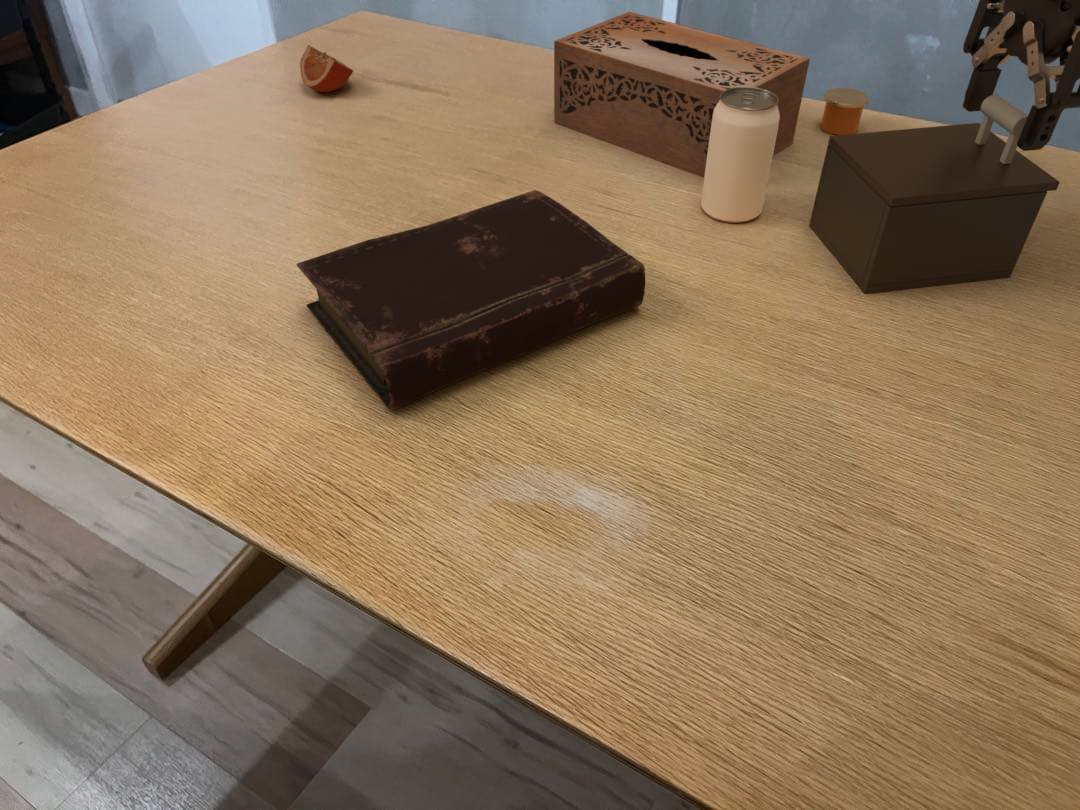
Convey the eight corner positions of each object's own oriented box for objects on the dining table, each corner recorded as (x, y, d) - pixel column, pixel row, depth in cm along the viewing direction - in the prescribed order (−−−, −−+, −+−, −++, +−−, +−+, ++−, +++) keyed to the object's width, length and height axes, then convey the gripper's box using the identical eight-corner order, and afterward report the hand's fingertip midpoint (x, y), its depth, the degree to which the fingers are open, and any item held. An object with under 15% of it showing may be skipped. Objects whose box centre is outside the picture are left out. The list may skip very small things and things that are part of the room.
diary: (645, 312, 74) (649, 264, 70) (394, 420, 64) (385, 370, 60) (531, 226, 85) (530, 181, 82) (304, 305, 75) (292, 258, 72)
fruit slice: (294, 84, 115) (287, 48, 112) (338, 74, 118) (332, 37, 115) (320, 103, 110) (312, 65, 107) (365, 91, 113) (359, 54, 109)
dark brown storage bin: (940, 212, 86) (968, 131, 80) (1010, 277, 77) (1048, 191, 71) (808, 225, 85) (827, 144, 79) (864, 293, 75) (890, 207, 70)
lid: (976, 130, 81) (995, 76, 77) (1056, 190, 71) (1082, 132, 68) (827, 143, 79) (840, 89, 75) (890, 207, 70) (908, 148, 66)
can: (697, 221, 86) (712, 107, 78) (703, 192, 90) (717, 82, 82) (760, 227, 84) (782, 113, 76) (763, 198, 89) (784, 87, 81)
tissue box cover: (554, 122, 104) (554, 40, 98) (624, 89, 112) (629, 11, 106) (726, 185, 91) (740, 96, 85) (792, 142, 99) (809, 58, 92)
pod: (849, 117, 104) (857, 86, 102) (868, 135, 101) (876, 102, 98) (810, 121, 104) (817, 89, 101) (828, 138, 100) (835, 106, 97)
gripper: (1192, -57, 58) (1090, 160, 69) (1064, -99, 68) (993, 95, 79) (1096, -52, 57) (1008, 167, 68) (981, -95, 67) (921, 100, 78)
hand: (1000, 128), depth 74 cm, fingers open, 8 cm apart
